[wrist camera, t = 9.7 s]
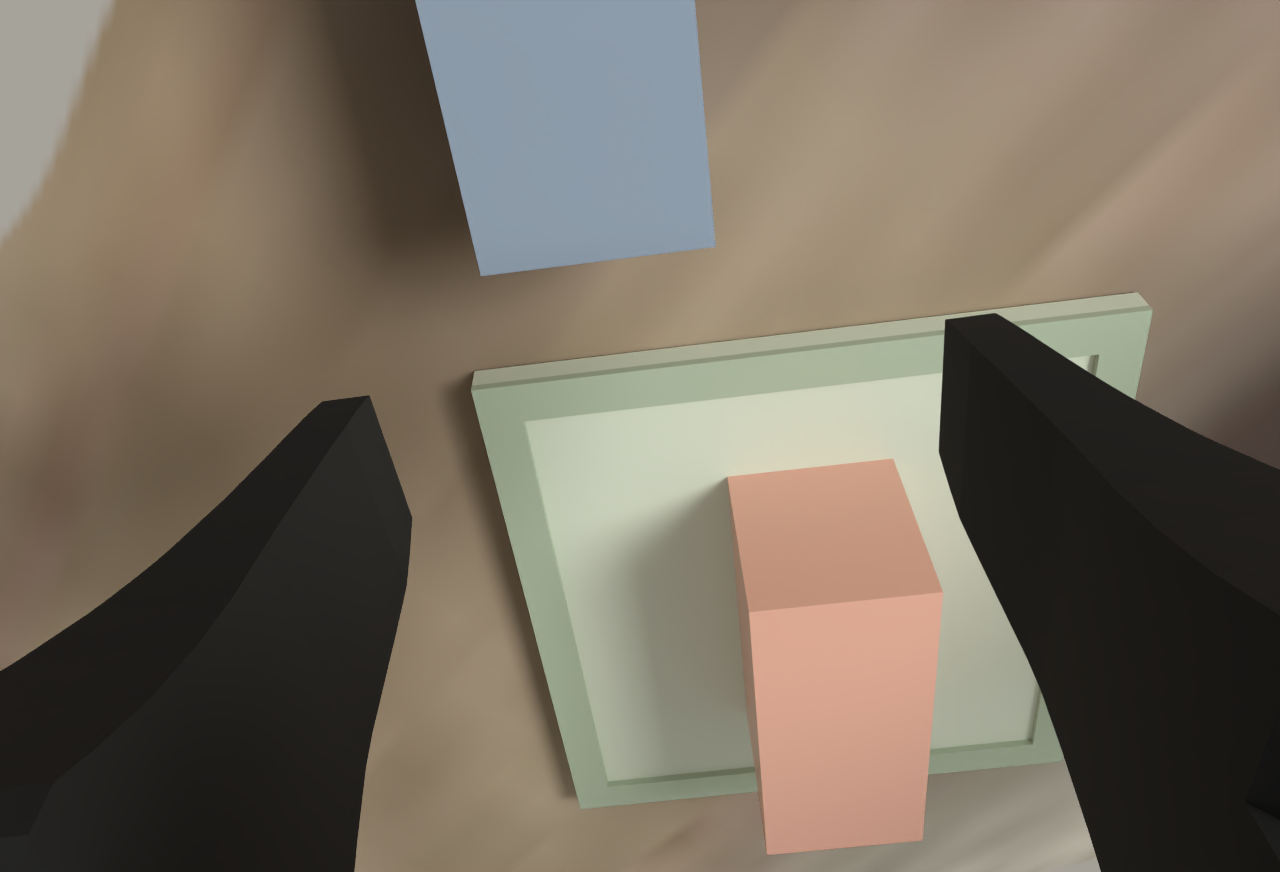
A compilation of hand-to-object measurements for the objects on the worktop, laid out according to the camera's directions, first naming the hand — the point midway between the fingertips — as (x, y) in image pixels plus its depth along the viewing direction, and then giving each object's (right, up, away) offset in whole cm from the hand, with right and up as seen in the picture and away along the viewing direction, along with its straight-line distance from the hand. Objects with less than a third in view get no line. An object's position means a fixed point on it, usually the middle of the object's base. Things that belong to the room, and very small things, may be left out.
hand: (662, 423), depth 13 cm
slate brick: (-2, +9, +5) cm, 11 cm away
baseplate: (+4, -4, +15) cm, 16 cm away
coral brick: (+4, -5, +15) cm, 16 cm away
